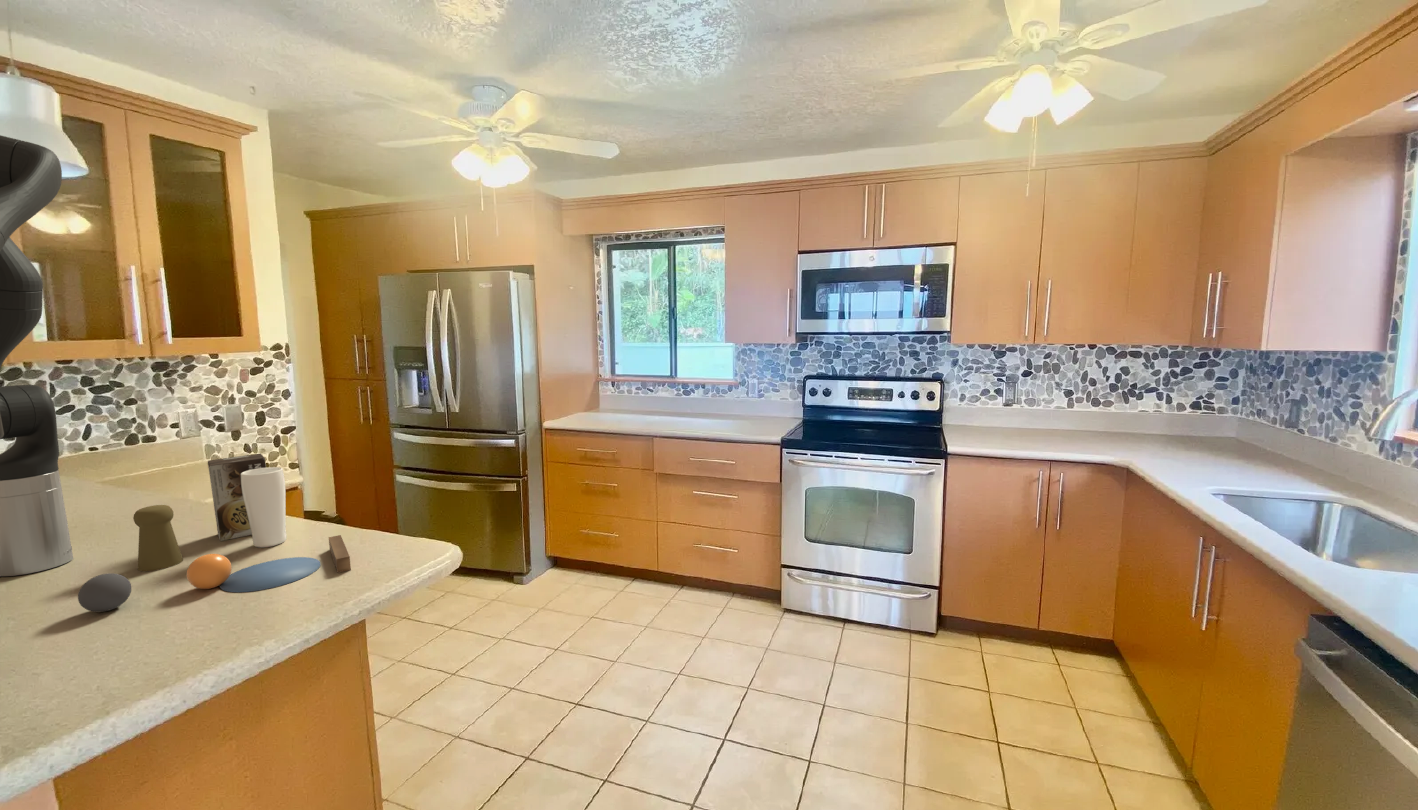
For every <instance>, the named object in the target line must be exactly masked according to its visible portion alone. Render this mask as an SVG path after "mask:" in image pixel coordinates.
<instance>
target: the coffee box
mask: <svg viewBox="0 0 1418 810" xmlns="http://www.w3.org/2000/svg"><path fill="white" fill-rule="evenodd" d="M207 466H208V472H209V480H210V486H211V487H210V488H211V489H210V490H211V493H212V501H213V508H214V509H213V510H214V515H215V522H216V530H217V535H218V539H219V541H220V542H223V541H228V540H232V539H237V538H241V537H246V536H250V535H251V536H252V533H251V528H250V524H249V520H248V516H247V511H246V507H245V503H244V499H243V494H242V487H241V473H242V472H245V471H248V470H253V469H258V468H267V464H266V459H265V457H264V456H263V454H262V453H253V454H247V455H246V454H245V455H239V456H231V457H225V458H218V459H217V458H216V459H210V460H207Z"/></svg>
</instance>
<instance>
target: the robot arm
mask: <svg viewBox="0 0 1418 810" xmlns="http://www.w3.org/2000/svg"><path fill="white" fill-rule="evenodd" d="M62 175H63V172H62V166H61V161H60V160H59V157H58V156H57V155H56V153H55V152H54V151H53V150H51V149H49V148H47V147H46V146H44V145H40V144H36V143H33V142H29V141H26V140H21V139H18V138H13V137H10V136H5V135H1V134H0V369H1V367H2V365H3V364H4V362H5V360H6V359H7V357H8V356H9V355H10V354H12V353H11V352H12V351H14V350H15V349H16V347H17V346H18V345H20V344H21V342H23V341H24V340H25V339H26V337H27V336H29V334H30V333H31V332H32V331H33V330H34V329H35V328H36V326H37V325H38V324H39V323H40V320H41V318H42V315H43V298H44V297H43V290H44V288H43V287H44V286H43V285H44V284H43V283H44V282H43V279H42V277H41V275H40V273H39V271H38V270H37V268H36V267H35V266H34V264H33V263H32V262H31V260H30V259H29V258H28V257H27V256H26V255H25V253H24V252H23V251H22V250H21V249H20V248H19V246H18V245H17V243H15V241H13V240H12V238H11V236H12V235H13V234H14V233H15V232H16V231H17V230H18V229H19V228H20V227H21V226H23V225H24V224H25V223H26V222H27V221H30V219H31V218H33V217H34V216H36V215H37V214H38V213H39V212H40V211H41V210H43V209H44V208H45V207H47V206H48V205H49V204H50V203H51V202H52V201H53V200H54V199H55V198H56V197H57V195H58V192H60V189H61V185H62V178H63V176H62ZM54 403H55V402H54V401H53V399H52V396H51V395H50V394H49V392H48V391H47V390H46V389H45V388H43V387H42V386H39V385H36V384H17V385H0V440H5V439H6V440H7V439H13V438H15V441H14V443H13V445H12V446H11V447H9V448H8V449H7V450H5V451H3V452H2V453H0V577H12V576H13V577H14V576H21V575H27V574H28V575H29V574H32V573H37V572H38V573H39V572H42V571H46V570H49V569H53V568H56V567H59V566H63V565H64V564H66V563H69V562H71V561H72V560H73V559H74V555H73V554H74V553H73V546H72V541H71V536H70V530H69V525H68V517H67V511H66V507H65V500H64V494H63V488H62V487H63V486H62V483H61V475H60V470H59V457H60V448H59V438H58V426H57V423H58V421H57V413H56V408H55V404H54Z"/></svg>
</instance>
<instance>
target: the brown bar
mask: <svg viewBox="0 0 1418 810" xmlns="http://www.w3.org/2000/svg"><path fill="white" fill-rule="evenodd" d="M328 545H329V552H330V554H331V557H332V560H333V563H334V567H335V569H337V570H336V571H337V573H338V574H339V573H344V572H347V571H351V570H352V569H351V568H352V567H351V559H350V556H351V555H350V554H349V551H348V549H347V546H346V544H345V542H344V540H343V537H342V535H341V534H339V535H334V536H328Z"/></svg>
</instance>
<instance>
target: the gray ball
mask: <svg viewBox="0 0 1418 810" xmlns="http://www.w3.org/2000/svg"><path fill="white" fill-rule="evenodd" d="M131 593H132V584H131V581H130V580H129V579H128V578H127V577H125V576H124V575H122V574H119V573H110V572H108V573H103V574H99V575H95V576H93V577H92V578H89V580H87V581H86V582H84V583H83V584H82V585H81V587H80V589H79V590H78V594H77V601H78V603H79V605H80V606H81V607H82V608H84V610H87V611H90V612H92V613H93V612H94V613H95V612H96V613H103V612H109V611H112V610H114V609H116V608H118V607H120V606H121V605H123V604H124V603H125V602H126V601H127V600H128V599H129V597H130V596H131Z"/></svg>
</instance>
